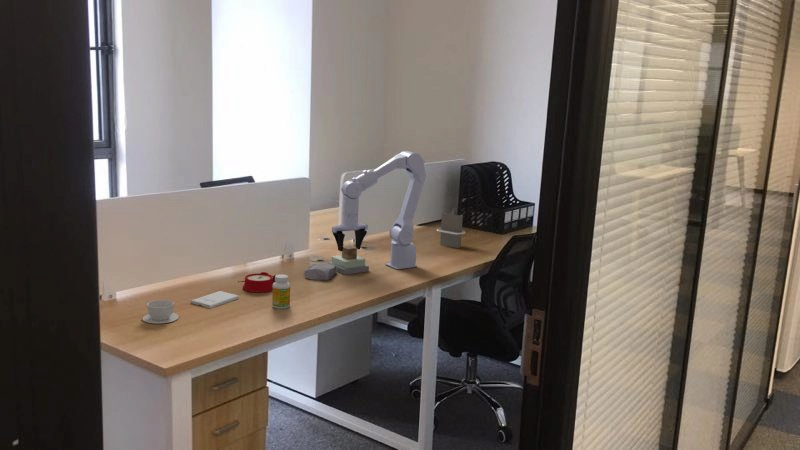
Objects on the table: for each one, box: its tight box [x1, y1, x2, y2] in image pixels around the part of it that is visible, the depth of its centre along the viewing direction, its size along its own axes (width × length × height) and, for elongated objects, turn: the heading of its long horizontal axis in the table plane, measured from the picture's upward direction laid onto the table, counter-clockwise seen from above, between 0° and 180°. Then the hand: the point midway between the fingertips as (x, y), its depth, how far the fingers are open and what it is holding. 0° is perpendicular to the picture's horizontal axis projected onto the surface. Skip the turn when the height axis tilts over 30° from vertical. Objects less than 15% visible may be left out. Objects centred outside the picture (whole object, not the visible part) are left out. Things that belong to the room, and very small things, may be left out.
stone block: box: [303, 262, 337, 281], centre depth 261 cm, size 12×5×10 cm
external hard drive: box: [190, 290, 240, 309], centre depth 227 cm, size 2×8×12 cm
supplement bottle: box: [271, 273, 291, 310], centre depth 224 cm, size 5×5×10 cm
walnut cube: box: [341, 245, 358, 260], centre depth 270 cm, size 4×4×4 cm
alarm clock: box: [237, 271, 277, 293], centre depth 243 cm, size 10×6×15 cm
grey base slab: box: [328, 261, 370, 275], centre depth 271 cm, size 11×11×2 cm
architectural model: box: [436, 212, 466, 249], centre depth 316 cm, size 20×25×15 cm
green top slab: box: [331, 254, 366, 268], centre depth 271 cm, size 9×9×2 cm
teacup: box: [141, 299, 180, 325], centre depth 208 cm, size 10×10×5 cm
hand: (349, 249), depth 270 cm, fingers open, 7 cm apart
